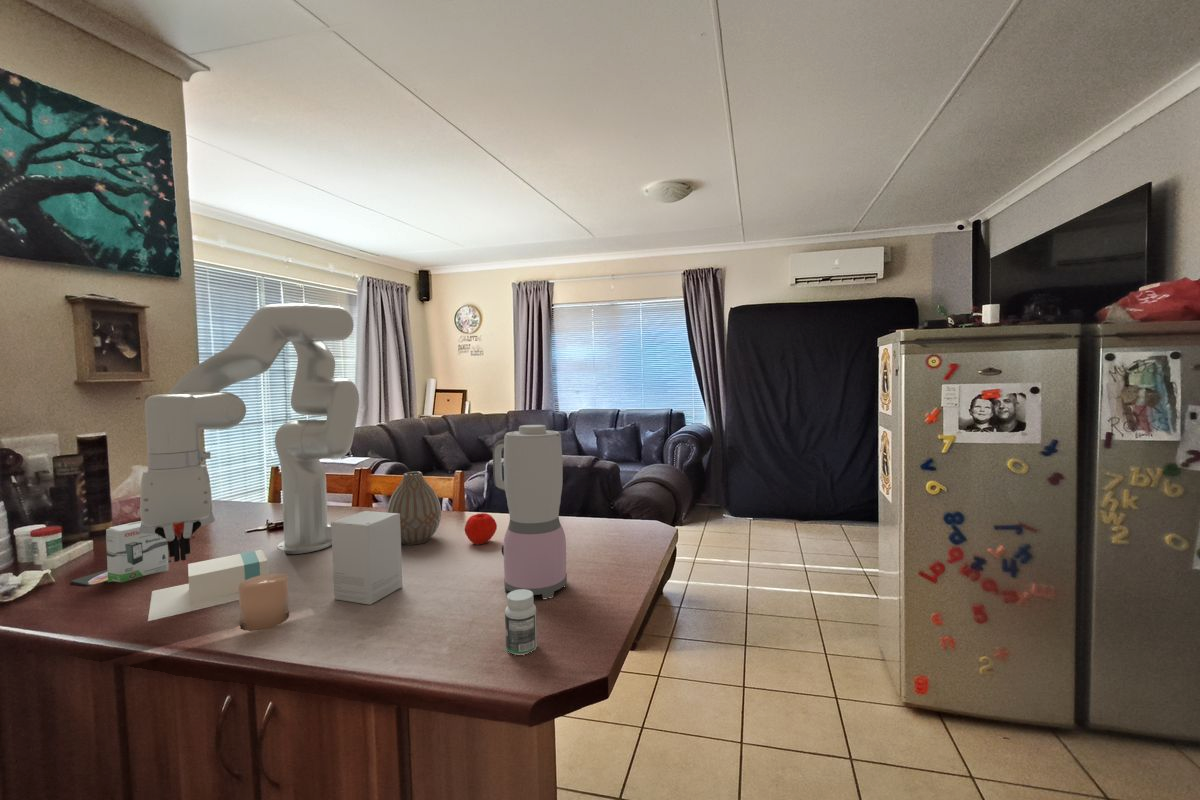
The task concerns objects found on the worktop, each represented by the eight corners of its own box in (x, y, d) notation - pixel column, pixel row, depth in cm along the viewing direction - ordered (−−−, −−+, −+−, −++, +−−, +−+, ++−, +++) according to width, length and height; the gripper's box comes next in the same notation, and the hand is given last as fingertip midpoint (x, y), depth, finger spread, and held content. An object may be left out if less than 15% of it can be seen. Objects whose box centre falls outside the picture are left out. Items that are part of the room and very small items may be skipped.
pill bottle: (514, 638, 80) (513, 586, 80) (542, 642, 79) (541, 589, 79) (500, 654, 76) (498, 599, 75) (529, 659, 74) (528, 602, 74)
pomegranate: (181, 545, 136) (141, 530, 129) (201, 520, 138) (163, 505, 132) (188, 554, 131) (147, 539, 124) (209, 528, 134) (170, 512, 127)
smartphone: (173, 559, 117) (91, 585, 103) (173, 563, 117) (91, 589, 103) (151, 556, 119) (68, 580, 105) (151, 559, 119) (68, 584, 105)
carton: (189, 589, 98) (263, 573, 106) (190, 604, 92) (268, 585, 99) (188, 563, 98) (262, 549, 106) (188, 576, 91) (267, 560, 99)
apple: (493, 548, 123) (492, 518, 123) (460, 548, 123) (460, 518, 123) (500, 537, 131) (499, 509, 131) (469, 538, 131) (468, 509, 131)
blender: (578, 581, 102) (576, 424, 101) (546, 606, 91) (543, 430, 90) (514, 569, 109) (511, 421, 108) (477, 591, 98) (473, 427, 97)
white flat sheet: (258, 574, 108) (257, 568, 108) (267, 599, 96) (267, 592, 96) (152, 597, 98) (152, 591, 98) (148, 628, 85) (147, 621, 85)
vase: (395, 534, 136) (393, 469, 135) (446, 531, 137) (444, 467, 136) (380, 550, 122) (377, 479, 122) (435, 548, 124) (433, 477, 123)
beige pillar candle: (285, 607, 92) (283, 570, 92) (292, 621, 87) (290, 581, 87) (238, 620, 88) (236, 580, 88) (242, 635, 82) (240, 593, 82)
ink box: (121, 588, 102) (117, 531, 101) (107, 585, 104) (103, 528, 103) (170, 573, 110) (167, 519, 109) (156, 570, 112) (153, 517, 111)
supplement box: (404, 586, 101) (402, 512, 100) (370, 606, 92) (367, 525, 92) (368, 581, 104) (365, 509, 103) (332, 599, 95) (329, 521, 95)
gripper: (224, 454, 101) (228, 545, 102) (121, 463, 91) (127, 563, 92) (226, 458, 95) (231, 555, 96) (117, 468, 85) (123, 575, 86)
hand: (180, 559), depth 94 cm, fingers closed
